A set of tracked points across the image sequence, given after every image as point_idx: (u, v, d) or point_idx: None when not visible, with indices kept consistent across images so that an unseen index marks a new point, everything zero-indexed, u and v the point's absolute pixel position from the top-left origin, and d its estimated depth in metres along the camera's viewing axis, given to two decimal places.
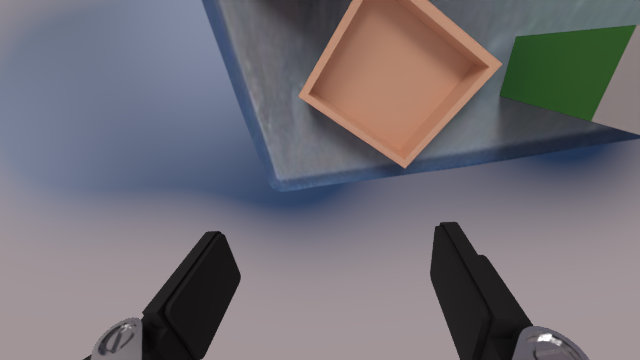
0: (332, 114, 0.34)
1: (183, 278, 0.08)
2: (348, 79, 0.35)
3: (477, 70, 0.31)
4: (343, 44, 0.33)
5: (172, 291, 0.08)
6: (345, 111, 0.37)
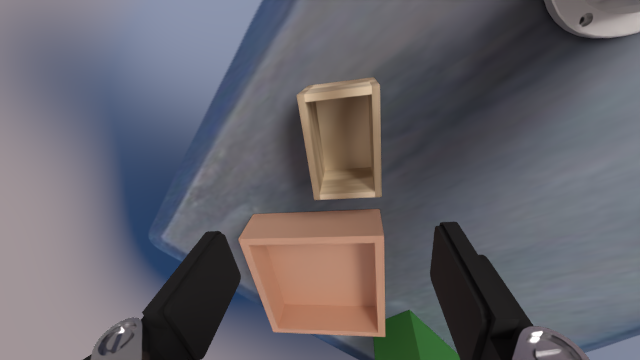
0: (253, 270, 0.31)
1: (183, 278, 0.08)
2: (294, 244, 0.33)
3: (372, 318, 0.36)
4: None
5: (171, 291, 0.08)
6: (271, 256, 0.35)
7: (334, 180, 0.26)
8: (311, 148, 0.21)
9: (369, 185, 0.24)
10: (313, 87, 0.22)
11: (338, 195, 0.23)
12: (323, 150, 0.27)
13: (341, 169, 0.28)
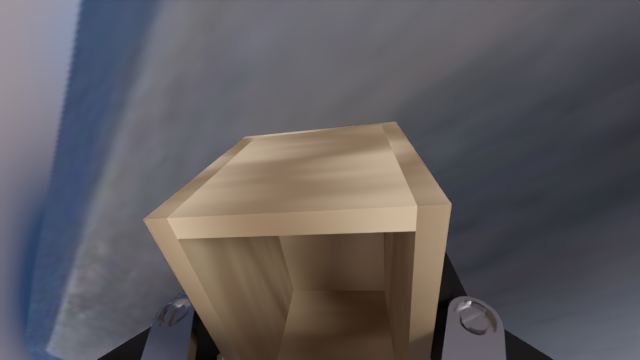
0: None
1: None
2: None
3: None
4: None
5: None
6: None
7: (307, 336, 0.12)
8: (227, 338, 0.07)
9: None
10: (242, 154, 0.09)
11: None
12: (287, 260, 0.13)
13: (325, 291, 0.14)
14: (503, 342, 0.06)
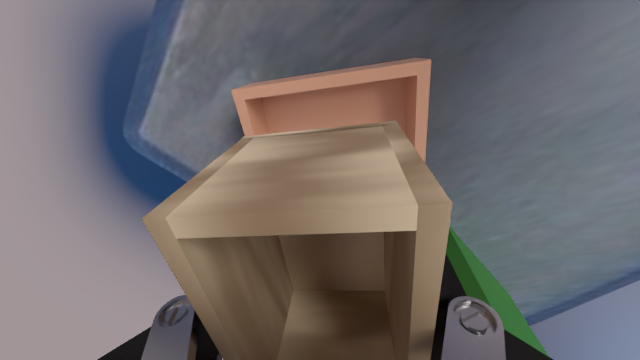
0: None
1: None
2: (304, 123, 0.26)
3: None
4: (330, 88, 0.24)
5: None
6: None
7: (307, 336, 0.12)
8: (226, 338, 0.07)
9: None
10: (242, 153, 0.09)
11: None
12: (287, 259, 0.13)
13: (324, 291, 0.14)
14: (503, 342, 0.06)
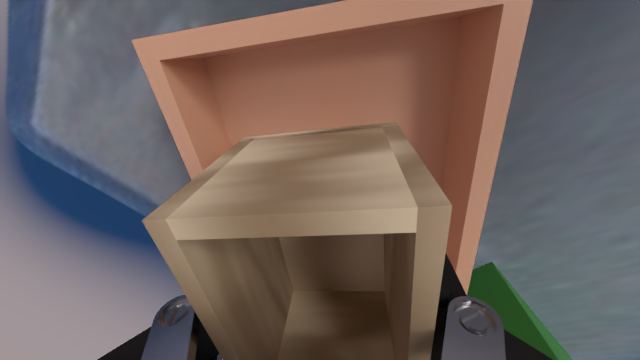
0: (185, 145, 0.14)
1: None
2: (280, 111, 0.16)
3: None
4: (322, 50, 0.14)
5: None
6: None
7: (307, 337, 0.12)
8: (226, 339, 0.07)
9: None
10: (242, 154, 0.09)
11: None
12: (287, 260, 0.13)
13: (324, 291, 0.14)
14: (503, 342, 0.06)
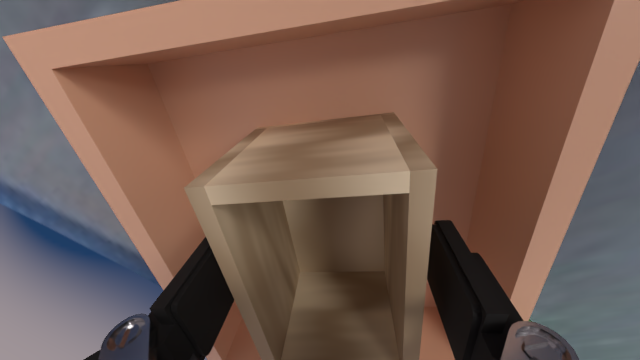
0: (111, 189, 0.09)
1: (189, 275, 0.08)
2: None
3: None
4: (310, 53, 0.10)
5: (178, 288, 0.08)
6: None
7: (314, 310, 0.13)
8: (247, 298, 0.09)
9: (387, 344, 0.11)
10: (258, 140, 0.10)
11: None
12: (294, 242, 0.14)
13: (329, 272, 0.15)
14: None
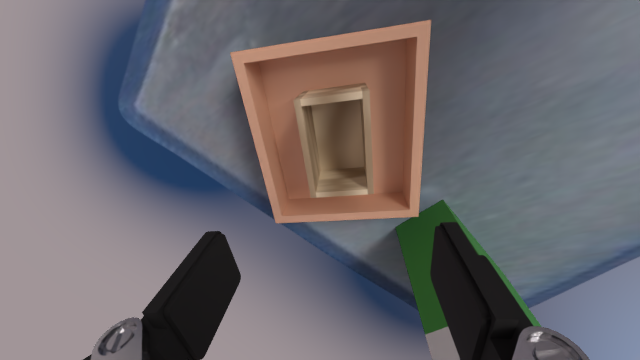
0: (251, 111, 0.24)
1: (183, 278, 0.08)
2: None
3: (400, 200, 0.29)
4: (329, 57, 0.24)
5: (172, 291, 0.08)
6: (272, 119, 0.28)
7: (329, 179, 0.27)
8: (307, 149, 0.23)
9: (362, 183, 0.25)
10: (308, 92, 0.24)
11: (333, 193, 0.25)
12: (319, 151, 0.29)
13: (336, 169, 0.29)
14: None
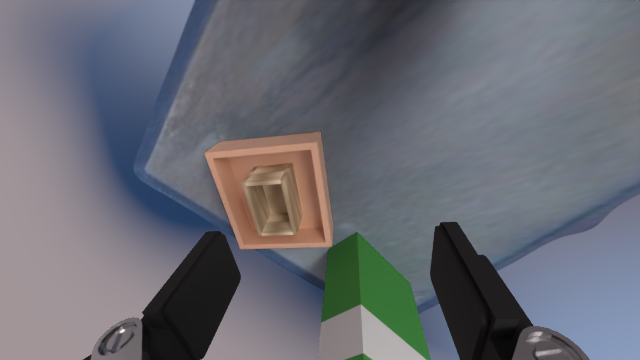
0: (218, 183, 0.38)
1: (183, 278, 0.08)
2: None
3: (323, 234, 0.43)
4: None
5: (171, 291, 0.08)
6: (236, 181, 0.42)
7: (273, 222, 0.41)
8: (252, 208, 0.37)
9: (291, 227, 0.39)
10: (255, 171, 0.38)
11: (272, 234, 0.39)
12: (268, 202, 0.43)
13: (280, 213, 0.43)
14: None
